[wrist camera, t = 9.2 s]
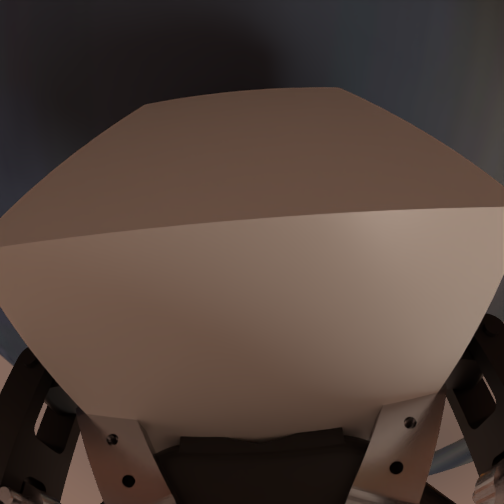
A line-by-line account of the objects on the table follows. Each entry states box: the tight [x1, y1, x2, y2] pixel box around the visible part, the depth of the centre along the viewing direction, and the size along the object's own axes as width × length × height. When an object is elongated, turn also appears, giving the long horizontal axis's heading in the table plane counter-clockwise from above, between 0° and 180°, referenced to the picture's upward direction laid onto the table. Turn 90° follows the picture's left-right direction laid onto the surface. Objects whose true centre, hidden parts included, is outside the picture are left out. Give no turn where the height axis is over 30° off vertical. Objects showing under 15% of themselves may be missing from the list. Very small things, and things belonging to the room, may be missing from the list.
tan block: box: [0, 87, 504, 453], centre depth 9 cm, size 7×11×9 cm, turn 5°
